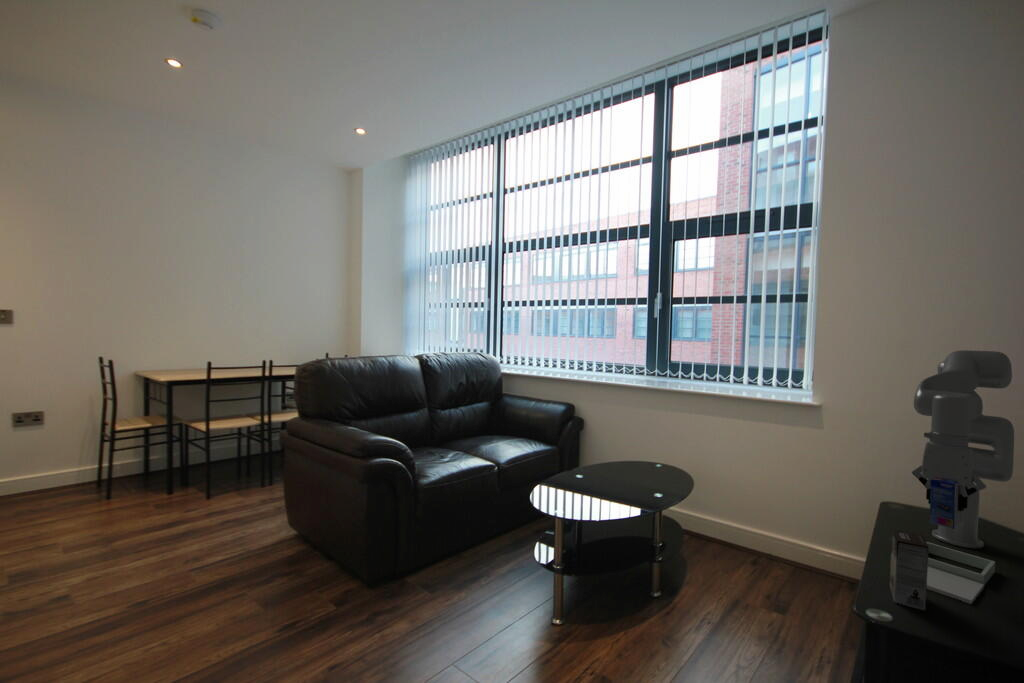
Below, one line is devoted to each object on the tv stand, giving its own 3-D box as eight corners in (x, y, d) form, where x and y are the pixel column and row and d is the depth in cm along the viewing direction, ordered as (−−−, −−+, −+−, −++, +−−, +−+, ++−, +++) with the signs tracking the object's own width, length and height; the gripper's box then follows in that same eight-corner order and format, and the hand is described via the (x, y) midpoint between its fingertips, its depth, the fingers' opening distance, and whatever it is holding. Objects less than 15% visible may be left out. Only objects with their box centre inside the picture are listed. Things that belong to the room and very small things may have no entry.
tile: (917, 566, 139) (917, 562, 139) (983, 587, 128) (984, 584, 128) (901, 580, 131) (902, 576, 131) (971, 604, 119) (971, 600, 119)
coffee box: (888, 587, 127) (891, 527, 127) (919, 594, 123) (922, 533, 123) (893, 603, 119) (896, 539, 119) (927, 611, 116) (930, 546, 115)
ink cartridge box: (936, 515, 134) (939, 464, 134) (963, 521, 130) (966, 469, 129) (927, 522, 128) (930, 469, 128) (955, 530, 124) (958, 475, 123)
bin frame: (924, 550, 149) (925, 541, 149) (994, 571, 137) (995, 561, 137) (910, 563, 141) (910, 553, 141) (983, 586, 128) (983, 575, 128)
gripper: (904, 435, 133) (902, 499, 134) (990, 448, 119) (987, 520, 120) (913, 432, 138) (910, 494, 138) (996, 445, 124) (993, 514, 124)
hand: (946, 505), depth 129 cm, fingers closed on ink cartridge box, 5 cm apart
